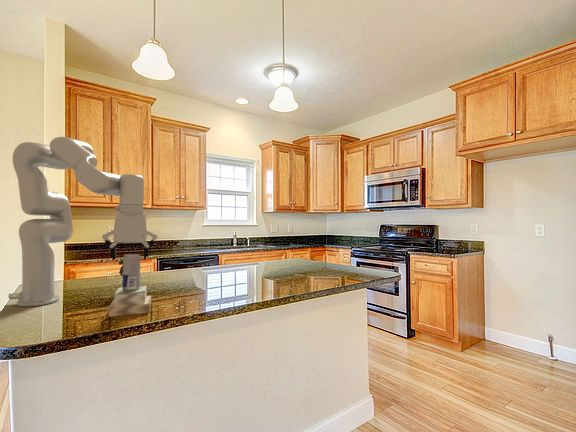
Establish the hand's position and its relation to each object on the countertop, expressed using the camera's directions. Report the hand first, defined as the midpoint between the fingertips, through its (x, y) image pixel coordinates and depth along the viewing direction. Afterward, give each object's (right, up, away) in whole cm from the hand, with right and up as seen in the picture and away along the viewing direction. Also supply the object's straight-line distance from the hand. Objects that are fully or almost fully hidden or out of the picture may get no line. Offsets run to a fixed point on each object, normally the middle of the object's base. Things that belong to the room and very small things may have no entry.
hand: (129, 259), depth 109 cm
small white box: (+1, -18, 0) cm, 18 cm away
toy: (-11, -18, +20) cm, 29 cm away
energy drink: (+1, -11, 0) cm, 11 cm away
